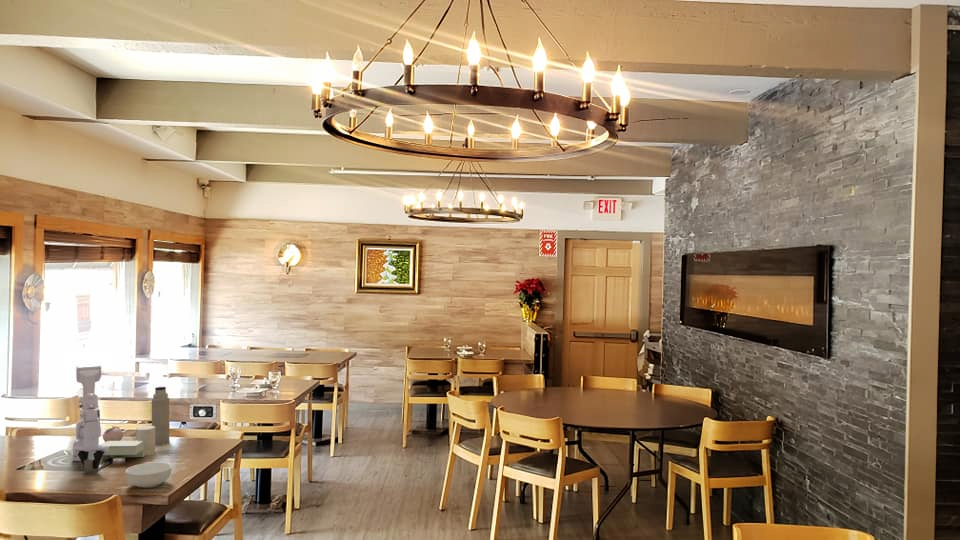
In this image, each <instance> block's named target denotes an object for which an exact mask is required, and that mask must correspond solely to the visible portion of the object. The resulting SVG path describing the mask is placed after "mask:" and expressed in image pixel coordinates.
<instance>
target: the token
mask: <svg viewBox="0 0 960 540" xmlns="http://www.w3.org/2000/svg"><path fill="white" fill-rule="evenodd" d="M124 462H125V463H126V458H125V456H117V457H113V458H112V464H113V465H120V464H124Z"/></svg>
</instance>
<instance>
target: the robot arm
mask: <svg viewBox="0 0 960 540" xmlns="http://www.w3.org/2000/svg"><path fill="white" fill-rule="evenodd" d="M75 376H76V382H77V383H79V384H81V385H82V394H83V395H82V412H81V414H82V416H81V419H80V420H78V421H77V423H76V426H75V440H74V441H73V443H72V444H73V445H72V460H71V461H72V462H81V464H82V468H83V469H84V460H85V459H87V458H89V457H94V460H95V469H97V468H99V464H100V460H101V458H102V456H103V454H104V452H108V451H109V450H110V446H100V445H101V444H100V443H99V441H100V437H101V434H102V433H101V431H102V428H101V421H100V420H101V410H100V407H99V400H98V399H99V398H98V395H97V394H96V393H95V391H96V390H95V389H96V383H97V382H100V381H101V378H102V365H101V364H100V363H99V364H93V365H92V364H91V365H90V364H89V365H77V366H76V369H75ZM99 444H100V445H99Z"/></svg>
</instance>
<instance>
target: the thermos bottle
mask: <svg viewBox="0 0 960 540" xmlns="http://www.w3.org/2000/svg"><path fill="white" fill-rule="evenodd" d="M166 389H167V387H166V386H157V387H155V388H154V391H155V392H154V393H153V395H152V398H151V426H155V446H163V444H165V445H168V444H169V443H170V397H169V393H167V390H166ZM167 443H168V444H167Z"/></svg>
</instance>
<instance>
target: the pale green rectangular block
mask: <svg viewBox="0 0 960 540" xmlns="http://www.w3.org/2000/svg"><path fill="white" fill-rule="evenodd" d="M144 442H145V441H136V440H121V441H107V442H105V441H104V443H101V444H100V446H110V450H109V451H108V452H104V454H103V456H102V458H101V460H100V463H101V462H106V461H107V460H108V459H113V457H117V456H125V457H143V458H144V457H145V455H144Z"/></svg>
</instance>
